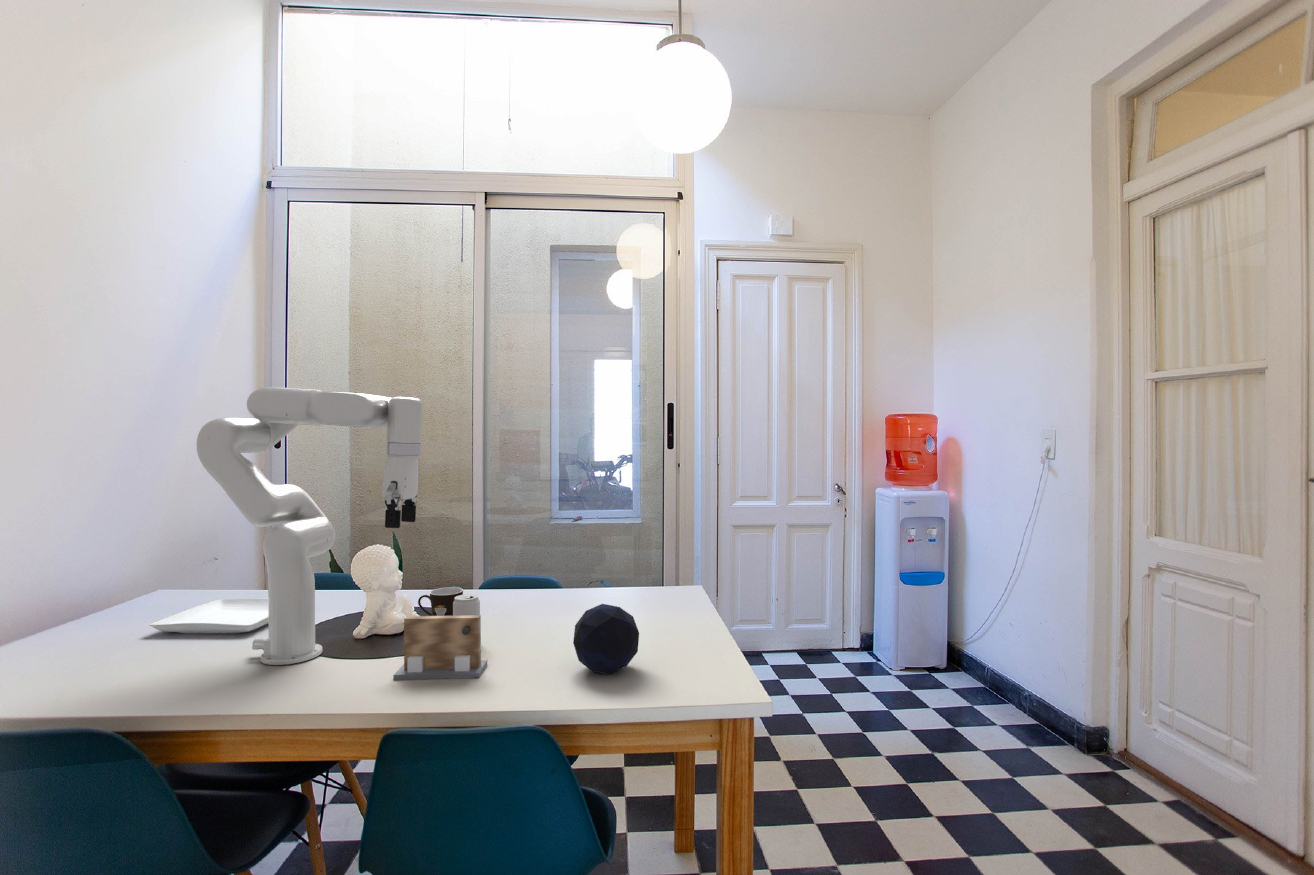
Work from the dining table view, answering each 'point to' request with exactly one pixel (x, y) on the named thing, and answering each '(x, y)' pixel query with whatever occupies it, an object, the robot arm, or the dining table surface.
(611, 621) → the decorative orb
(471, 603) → the beverage can
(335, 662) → the dining table surface
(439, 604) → the coffee mug
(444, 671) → the hinge base
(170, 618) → the square plate
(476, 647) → the door panel
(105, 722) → the dining table surface
